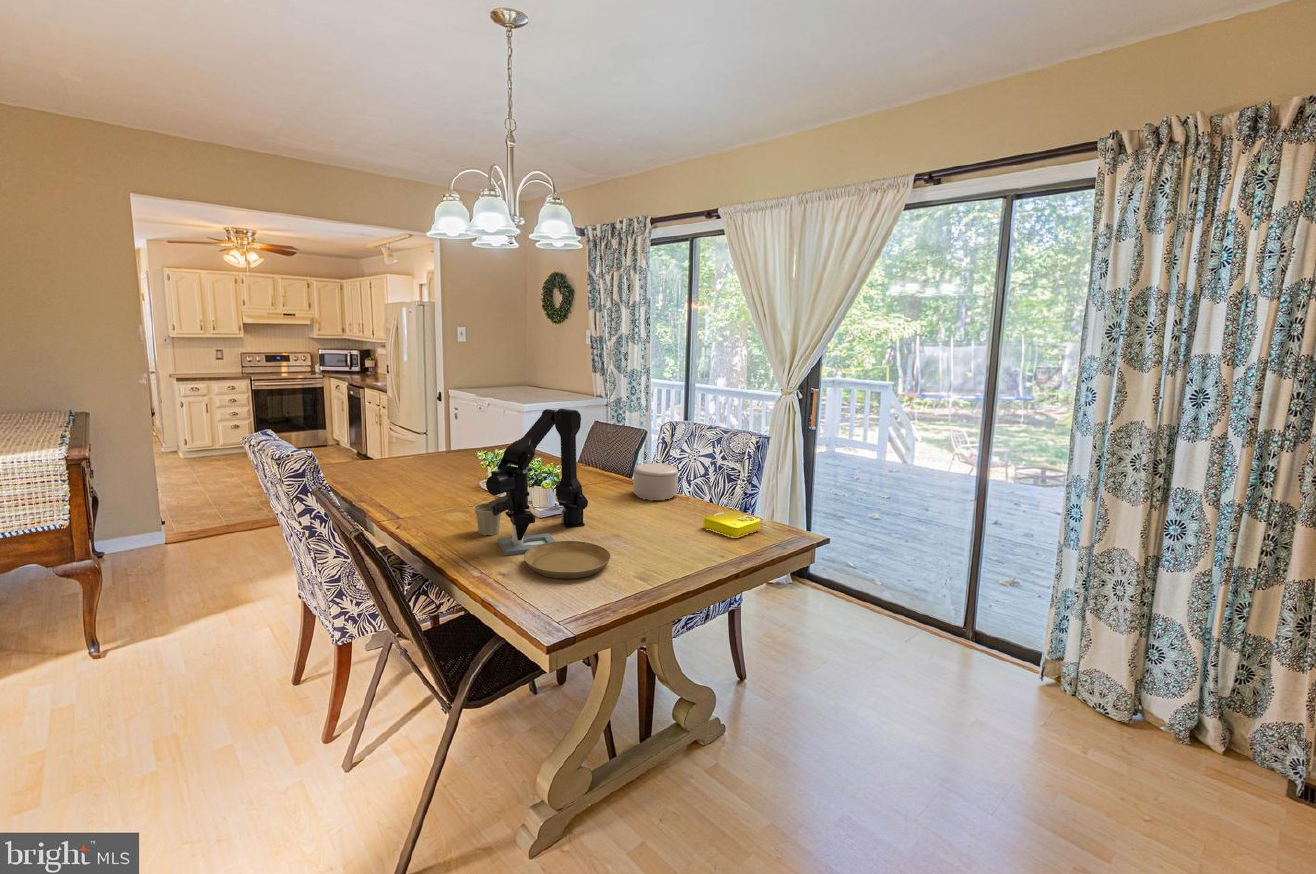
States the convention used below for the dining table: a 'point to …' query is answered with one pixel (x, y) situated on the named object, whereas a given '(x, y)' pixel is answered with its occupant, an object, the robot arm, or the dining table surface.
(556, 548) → the plant saucer
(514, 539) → the cream peg
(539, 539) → the keyhole plate
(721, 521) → the element tile
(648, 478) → the container
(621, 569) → the dining table surface
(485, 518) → the flower pot
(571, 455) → the robot arm
